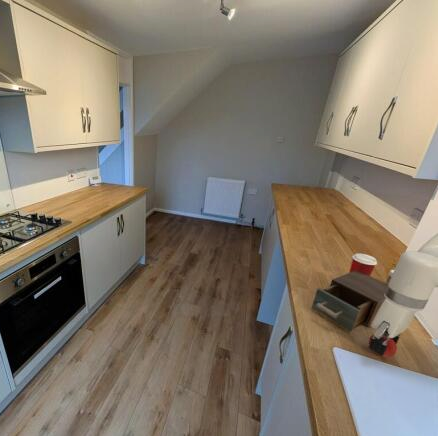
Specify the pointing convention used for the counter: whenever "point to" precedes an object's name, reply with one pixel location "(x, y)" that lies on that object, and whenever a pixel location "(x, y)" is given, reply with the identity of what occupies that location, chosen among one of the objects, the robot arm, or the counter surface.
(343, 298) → the drawer
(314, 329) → the counter surface
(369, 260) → the paper cup
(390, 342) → the onion
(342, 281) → the cabinet
